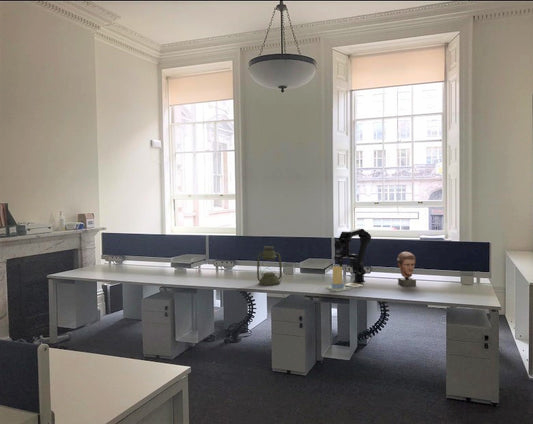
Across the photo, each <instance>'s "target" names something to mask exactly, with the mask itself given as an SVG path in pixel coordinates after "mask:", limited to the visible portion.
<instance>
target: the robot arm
mask: <svg viewBox="0 0 533 424" xmlns="http://www.w3.org/2000/svg"><path fill="white" fill-rule="evenodd" d="M356 236H358V238H359V242H360V246H359V250H358V253H350V252H351V250H352V249H350V248H351V247H350V243H351V242H352V240H351V239H352V238H353V237H356ZM371 239H372V235H371V234H370V233H369V232H367V231H366V230H365V229H364V228H357V229H353V230H351V231H341V232H340V235H339V237H338V238H337V240H336V241H335V243H334V244H333V246H334V248H335V250H336V251H335V255H333V256H334V257H333V258H334V260H335V261H337V264H338V266H340V267H342V268H343V263H344V260H343V259H349V266H350V268H352V270H351V271H352V274H354V280H353V282H355V283H356V282H357V283H363V282H366V280H365V278H364V277H365V275H366V273H367V271H366V270H365V268H364V267H365V265H364V258H365V255H366V250H367V247H368V245H369V243H370V242H371Z"/></svg>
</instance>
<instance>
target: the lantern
mask: <svg viewBox="0 0 533 424" xmlns="http://www.w3.org/2000/svg"><path fill="white" fill-rule="evenodd" d="M274 248H275V246H273V245H265V246H263V248H262V249H263V251H262V252H261V253H259V255H258V256H257V257H256V258H257V260H256V261H257V262H256V263H257V265H256V276H257V277H256V278H257V281H259V282H258V284H259V285H260V286H263V287H264V286H265V287H270V286H271V287H273V286H274V285H275V286H279V285H280V284H281V282H282V278H283V274H282V271H283V266H282V258H281V254H280V253H279V252H277V251H275V249H274ZM277 256H278V265H279V276H277V275H276V272H273V271H274V270H272V269H271V271H269V272H268V271H267V272H264V271H265V270H266V269H269V268H271V266H268V267H265V265H263V267H264V269H263V271H262V270H261V266H260V258H263V260H262V262H261V263H263V262H264V260H265V261H275V258H277ZM276 263H277V262H275V264H274V265H276ZM260 276H261V278H260Z"/></svg>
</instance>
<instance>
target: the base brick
mask: <svg viewBox="0 0 533 424" xmlns="http://www.w3.org/2000/svg"><path fill="white" fill-rule="evenodd" d="M344 284H345V283H344V282H342V284H339V285H338V284H333V282H332V283H331V286H332V288H337V289H339V288H344V287H345V285H344Z"/></svg>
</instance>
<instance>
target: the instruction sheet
mask: <svg viewBox="0 0 533 424" xmlns="http://www.w3.org/2000/svg"><path fill="white" fill-rule="evenodd" d="M343 284H344V286H347V287H353V288H359V287H362V286H364V285H363V284H359V283H356V282H355V283H354V282H349V283H343Z"/></svg>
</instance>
